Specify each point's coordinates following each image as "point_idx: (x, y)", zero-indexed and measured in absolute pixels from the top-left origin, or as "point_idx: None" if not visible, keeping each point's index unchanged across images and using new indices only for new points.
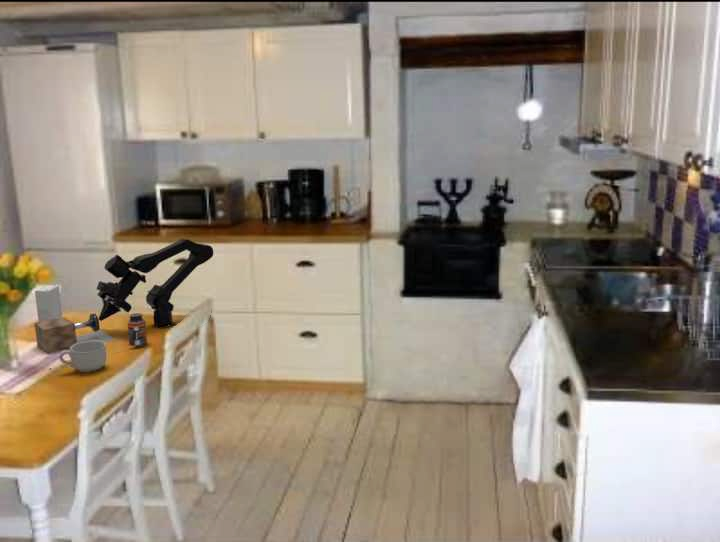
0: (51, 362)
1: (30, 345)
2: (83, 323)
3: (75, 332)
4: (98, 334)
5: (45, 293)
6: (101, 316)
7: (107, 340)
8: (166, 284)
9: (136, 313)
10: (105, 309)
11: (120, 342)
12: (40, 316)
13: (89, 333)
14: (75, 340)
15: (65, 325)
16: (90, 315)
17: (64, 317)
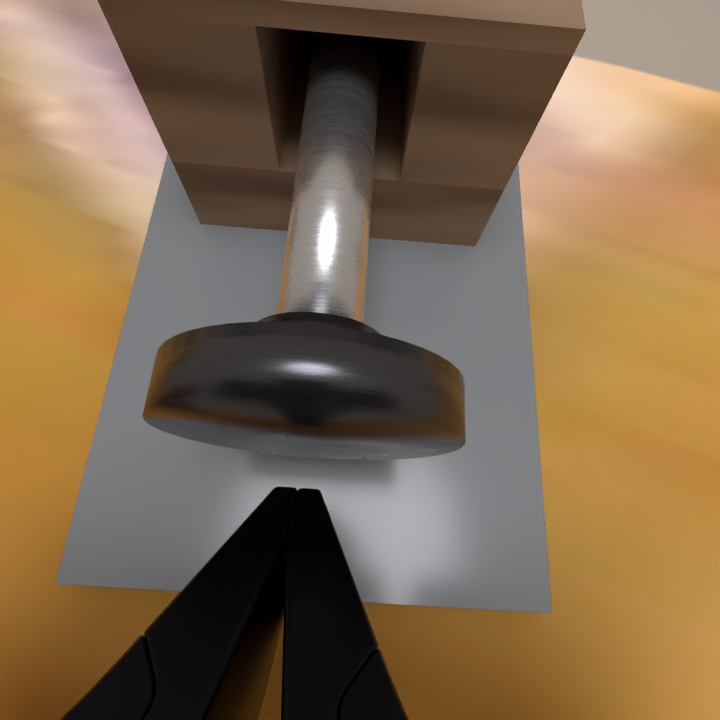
0: (98, 41)
1: (590, 89)
2: (294, 229)
3: (150, 111)
4: (426, 524)
5: None
6: (237, 536)
7: (124, 494)
8: None
9: None
10: (94, 716)
11: (30, 612)
12: None
13: (537, 470)
14: (184, 174)
15: None
16: (392, 347)
17: (564, 26)
